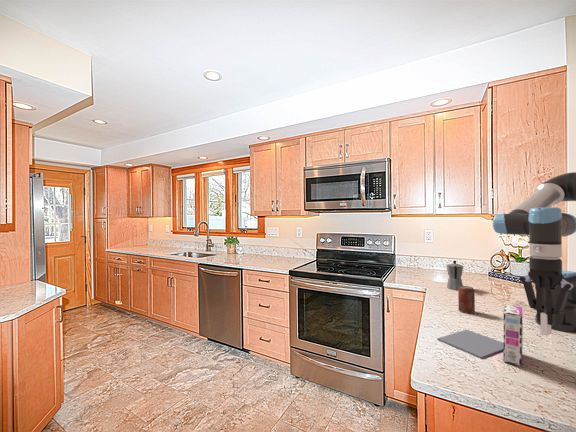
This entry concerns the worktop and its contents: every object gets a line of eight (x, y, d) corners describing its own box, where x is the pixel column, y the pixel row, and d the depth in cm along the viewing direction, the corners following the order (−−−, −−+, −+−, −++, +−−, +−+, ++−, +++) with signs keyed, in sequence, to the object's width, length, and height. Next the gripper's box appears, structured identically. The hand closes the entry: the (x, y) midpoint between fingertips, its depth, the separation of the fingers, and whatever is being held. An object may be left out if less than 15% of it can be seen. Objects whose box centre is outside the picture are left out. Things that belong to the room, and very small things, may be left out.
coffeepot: (446, 285, 194) (445, 258, 194) (462, 286, 190) (462, 259, 190) (447, 291, 180) (446, 262, 180) (465, 292, 176) (464, 263, 176)
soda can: (460, 308, 148) (460, 284, 148) (476, 311, 143) (476, 287, 143) (456, 311, 143) (456, 287, 143) (472, 314, 138) (472, 289, 138)
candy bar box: (522, 367, 91) (522, 315, 91) (503, 362, 94) (502, 312, 94) (523, 353, 100) (522, 306, 100) (505, 349, 103) (504, 303, 103)
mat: (466, 331, 120) (466, 329, 120) (511, 347, 105) (511, 345, 105) (437, 339, 112) (437, 338, 112) (481, 358, 97) (481, 357, 97)
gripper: (514, 255, 93) (515, 328, 93) (566, 261, 81) (567, 344, 81) (526, 254, 96) (527, 324, 96) (579, 259, 85) (580, 339, 85)
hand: (546, 333), depth 89 cm, fingers closed
